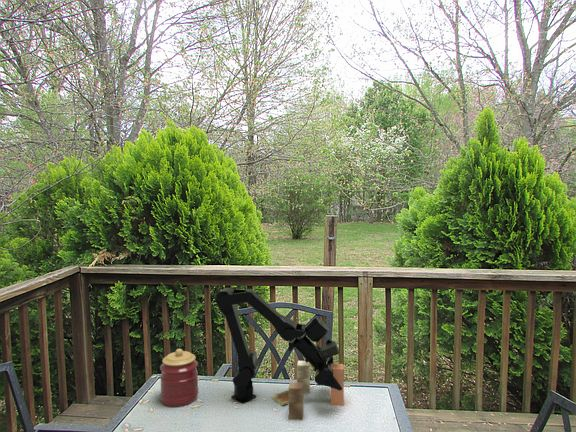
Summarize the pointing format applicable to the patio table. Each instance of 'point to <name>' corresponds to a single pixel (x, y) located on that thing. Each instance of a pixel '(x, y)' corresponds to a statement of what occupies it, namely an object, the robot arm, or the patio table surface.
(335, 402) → the salmon orange block
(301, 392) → the walnut block
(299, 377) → the birch block
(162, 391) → the canister
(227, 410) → the patio table surface
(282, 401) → the shard
